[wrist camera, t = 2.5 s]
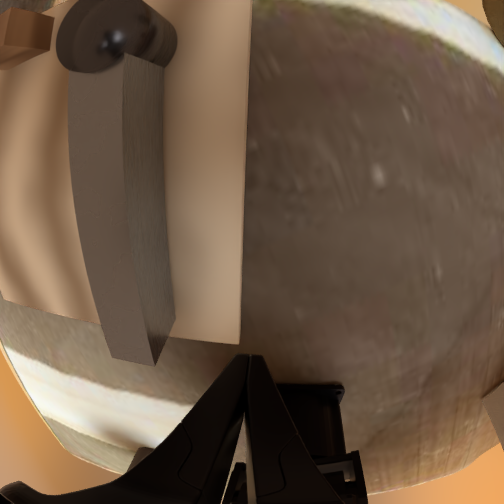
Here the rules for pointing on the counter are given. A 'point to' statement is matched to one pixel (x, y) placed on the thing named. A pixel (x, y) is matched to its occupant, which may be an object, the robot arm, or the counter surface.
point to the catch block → (23, 36)
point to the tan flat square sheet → (175, 174)
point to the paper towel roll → (496, 411)
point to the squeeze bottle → (495, 17)
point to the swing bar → (121, 166)
